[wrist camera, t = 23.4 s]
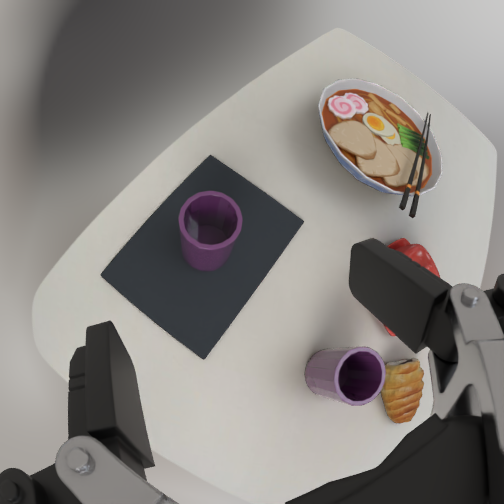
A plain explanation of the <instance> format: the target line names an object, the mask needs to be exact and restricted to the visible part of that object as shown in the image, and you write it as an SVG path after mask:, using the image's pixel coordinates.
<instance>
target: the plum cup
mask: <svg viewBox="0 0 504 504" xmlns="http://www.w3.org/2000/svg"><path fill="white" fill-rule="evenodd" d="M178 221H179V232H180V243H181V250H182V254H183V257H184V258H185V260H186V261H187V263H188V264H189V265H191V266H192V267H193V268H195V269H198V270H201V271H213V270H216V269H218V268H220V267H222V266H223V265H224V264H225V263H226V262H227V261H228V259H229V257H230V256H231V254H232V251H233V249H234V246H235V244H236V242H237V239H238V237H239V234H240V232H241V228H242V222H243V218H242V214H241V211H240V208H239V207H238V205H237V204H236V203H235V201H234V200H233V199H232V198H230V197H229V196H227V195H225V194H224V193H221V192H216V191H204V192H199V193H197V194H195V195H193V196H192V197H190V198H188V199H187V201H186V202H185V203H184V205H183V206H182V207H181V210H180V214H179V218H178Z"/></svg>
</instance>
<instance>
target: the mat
mask: <svg viewBox="0 0 504 504" xmlns="http://www.w3.org/2000/svg"><path fill="white" fill-rule="evenodd" d="M204 191H216V192H221V193H224V194H225V195H227V196H229V197H230V198H232V199H233V200H234V201H235V203H236V204H237V205H238V207H239V208H240V211H241V214H242V218H243V222H242V228H241V232H240V234H239V237H238V239H237V242H236V244H235V246H234V249H233V251H232V254H231V256H230V257H229V259H228V261H227V262H226V263H225V264H224V265H223V266H222V267H220V268H218V269H216V270H213V271H201V270H198V269H195V268H193V267H192V266H191V265H189V264H188V263H187V261H186V260H185V258H184V257H183V254H182V250H181V243H180V232H179V221H178V218H179V214H180V210H181V207H182V206H183V205H184V203H185V202H186V201H187V199H188V198H190V197H192V196H193V195H195V194H197V193H199V192H204ZM303 222H304V221H303V220H302V219H300V218H299V217H298V216H296V215H295V214H294V213H292V212H291V211H289V210H288V209H287V208H285V207H284V206H283V205H281V204H280V203H279V202H277V201H276V200H274V199H273V198H272V197H270V196H269V195H267V194H266V193H265V192H263V191H262V190H260V189H259V188H258V187H256V186H255V185H253V184H252V183H251V182H249V181H248V180H246V179H245V178H243V177H242V176H241V175H239V174H238V173H236V172H235V171H233V170H232V169H230V168H229V167H228V166H226V165H225V164H223V163H222V162H220V161H219V160H217V159H216V158H214V157H213V156H211V155H210V156H209V157H208V158H207V159H205V160H204V161H203V162H202V163H201V164H200V165H199V166H198V167H197V168H196V169H195V170H194V171H193V172H192V173H191V174H190V175H189V176H188V177H187V178H186V179H185V180H184V182H183V183H182V184H181V185H180V186H179V187H178V188H177V189H176V190H175V191H174V192H173V193H172V194H171V195H170V196H169V197H168V198H167V199H166V200H165V201H164V202H163V203H162V205H161V206H160V207H159V208H158V209H157V210H156V211H155V212H154V213H153V214H152V215H151V217H150V218H149V219H148V220H147V221H146V222H145V223H144V224H143V225H142V226H141V228H140V229H139V230H138V231H137V232H136V233H135V234H134V236H133V237H132V238H131V239H130V240H129V241H128V242H127V244H126V245H125V246H124V247H123V248H122V249H121V251H120V252H119V253H118V254H117V255H116V257H115V258H114V259H113V260H112V261H111V263H110V264H109V265H108V266H107V267H106V269H105V270H104V271H103V272H102V273H101V276H102V277H103V278H104V279H105V280H106V281H107V282H108V283H110V284H111V285H112V286H113V287H114V288H115V289H116V290H117V291H119V292H120V293H121V294H122V295H123V296H124V297H125V298H127V299H128V300H129V301H130V302H131V303H132V304H134V305H135V306H136V307H137V308H138V309H139V310H141V311H142V312H143V313H144V314H145V315H147V316H148V317H149V318H150V319H152V320H153V321H154V322H155V323H157V324H158V325H159V326H160V327H161V328H163V329H164V330H165V331H167V332H168V333H169V334H170V335H172V336H173V337H174V338H176V339H177V340H178V341H179V342H181V343H182V344H183V345H185V346H186V347H187V348H189V349H190V350H191V351H193V352H194V353H195V354H197V355H198V356H199V357H201V358H202V359H205V358H206V357H207V355H208V354H209V353H210V351H211V350H212V348H213V347H214V346H215V344H216V343H217V342H218V340H219V339H220V338H221V336H222V335H223V334H224V332H225V331H226V330H227V328H228V327H229V326H230V324H231V323H232V321H233V320H234V319H235V317H236V316H237V315H238V313H239V312H240V311H241V309H242V308H243V306H244V305H245V304H246V302H247V301H248V300H249V298H250V297H251V295H252V294H253V293H254V291H255V290H256V289H257V287H258V286H259V284H260V283H261V282H262V280H263V279H264V277H265V276H266V275H267V273H268V272H269V270H270V269H271V268H272V266H273V265H274V264H275V262H276V261H277V259H278V258H279V256H280V255H281V254H282V252H283V251H284V249H285V248H286V247H287V245H288V244H289V242H290V241H291V240H292V238H293V237H294V235H295V234H296V232H297V231H298V230H299V228H300V227H301V225H302V224H303Z"/></svg>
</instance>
